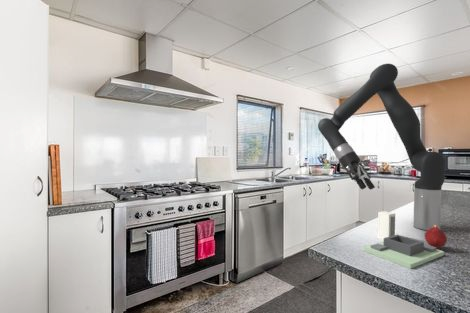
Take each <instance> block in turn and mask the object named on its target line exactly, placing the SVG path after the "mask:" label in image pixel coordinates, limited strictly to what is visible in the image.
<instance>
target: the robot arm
mask: <svg viewBox="0 0 470 313" xmlns="http://www.w3.org/2000/svg"><path fill="white" fill-rule="evenodd" d="M398 74H399V70H398V68H397V66H396V65H395V64H392V63H383V64H380V65H379V66H377V67H376V68H375V69H373V71H372V72H371V73H370V76H369V78H368V80H367V81H366V82H365V83H364V84H363V85H362V86H361V87H360V88H359V89H357V91H355V92H354V93H352V94H351V95H350V96H349V97H348V98H347V99H345V100H344V102H342V103H341V104H340V105H339V106H338V107H337V108H336V109H335V110H334V111H333V115H332V117H331V118H328V117H325V118H321V119H320V120H319V121H318V123H317V124H318V125H317V127H318V131H319V132H320V133H321V135H322V136H323V137H324V139H325V140H326V141H327V143H328V146H330V148H331V150H332V152H333V153H334V155H335V157H336V158H337V161H338V162H339V164H340V165H341V166H342V168H343V169H344V170H345V171H346V173H347V175H348V176H349V178H350V180H352V181H354V182H356V184H357V185H358V187H359V188H360V190H364V189H366V188H368V189H369V190H370V191H371V190H373V189H375V188H376V186H375V185H374V183H373V182H372V180H371V179H372V177H371V175H370V174H369V172H368V171H367V170H366V169H365V167H364V166H360V165H359V163H361V158H360V157H359V155H358V154H357V153H356V151H355V150H354V148H353V147H352V145H350V144H349V142H348V141H347V139H346V138H345V137H344V136H343V134H342V133H341V132H340V129H341V128H342V127H343V126H344V124H345V123H346V122H347V121H348V120H349V119H350V118H351V117H353V115H354V114H356V113H357V112H358V111H359V110H360V109H361V108H362V107H363V106H364V105H365V104H366V103H367V102H368V101H369V100H371V99H372V98H373V97H374V96H375V95H376V94H377V95H378V97H379V99H381V102H382V104H383V106H384V109H385V111H386V113H387V115H388V117H389V119H390V121H391V124H392V125H393V127H394V129H395V130H396V132H397V134H398V137H399V138H400V140H401V142H402V144H403V146H404V149H405V151H406V154H407V156H408V160H409V162H410V164H411V166H412V168H413V169H415V171H417V172H420V178H418V180H415V182H414V185H413V186H414V188H413V189H414V190H413V191H414V193H413V196H414V197H413V227H414V228H416V229H419V230H423V231H427V230H429V229H431V228H433V227H434V225H437V227H438V228H439V229H440V230H441V218H442V215H441V214H442V188H443V184H444V183H445V179H446V178H445V176H446V159H445V157H444V156H443V154H441V153H440V152H438V151H428V150H427V149H426V147H425V145H424V143H423V140H422V138H421V137H422V136H421V120H420V119H419V116H418V115H417V113H416V111H415V109H414V107H413V106H412V105H411V104H410V103H409V102H408V101H407V99H405V98H404V96H402V95H401V94H400V92H399V91H398V88H397V86H396V84H395V81H396V79H397V78H398Z"/></svg>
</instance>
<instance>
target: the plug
mask: <svg viewBox="0 0 470 313" xmlns="http://www.w3.org/2000/svg"><path fill="white" fill-rule="evenodd" d="M377 215H378V216H377V239H378V238H379V239H378V240H381V239H382V241H384V238H386V237H390V236H394V235H396V212H390V211H387V210H386V211H385V210H383V211H382V210H381V211H378V213H377Z"/></svg>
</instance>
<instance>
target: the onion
mask: <svg viewBox="0 0 470 313" xmlns="http://www.w3.org/2000/svg"><path fill="white" fill-rule="evenodd" d="M424 239H425V241H426V243H427V245H429V246H433V247H436V249H437V250H438V249H439V248H442V247H444V246H445V245H446V243H447V242H448V238H447V236H446V234H445V232H444V231H443V230H442V229H441V228H440V229H439V228H438V227H437V225H434V227H433V228H431V229H429V230H425V233H424Z"/></svg>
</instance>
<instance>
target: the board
mask: <svg viewBox="0 0 470 313" xmlns="http://www.w3.org/2000/svg"><path fill="white" fill-rule="evenodd" d="M363 252H366V253H367V254H371V255H372V256H376V257H379V258H381V259H384V260H387V261H389V262H392V263H393V264H397V265H399V266H402V267H404V268H407V269H409V270H410V269H414V268H416V267H419V266H420V265H423V264H426V263H428V262H431V261H433V260H436V259H438V258H441V257H443V256H445V251H443V250H440V249H438V248H437V249H436V247H433V246H430V245H429V244H425V242H424V241H422V240H417V239H414V238H410V237H407V236H404V235H401V234H395V235H394V236H390V237H386V238H384V240H383V241H380V242H377V243H374V244H370V245H367V246H364V247H363Z"/></svg>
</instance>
